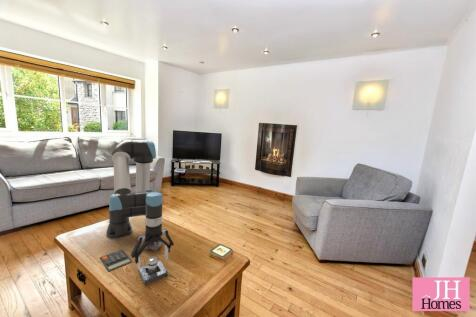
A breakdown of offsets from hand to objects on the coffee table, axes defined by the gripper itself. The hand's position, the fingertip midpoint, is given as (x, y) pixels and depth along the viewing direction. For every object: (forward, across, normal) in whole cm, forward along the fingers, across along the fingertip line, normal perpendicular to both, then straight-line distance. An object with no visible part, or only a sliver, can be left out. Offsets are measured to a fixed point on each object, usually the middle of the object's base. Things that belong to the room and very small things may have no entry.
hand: (153, 263), depth 104 cm
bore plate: (+6, 0, 0) cm, 6 cm away
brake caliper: (+6, +8, +23) cm, 25 cm away
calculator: (+6, -13, +22) cm, 26 cm away
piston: (+6, 0, 0) cm, 6 cm away
